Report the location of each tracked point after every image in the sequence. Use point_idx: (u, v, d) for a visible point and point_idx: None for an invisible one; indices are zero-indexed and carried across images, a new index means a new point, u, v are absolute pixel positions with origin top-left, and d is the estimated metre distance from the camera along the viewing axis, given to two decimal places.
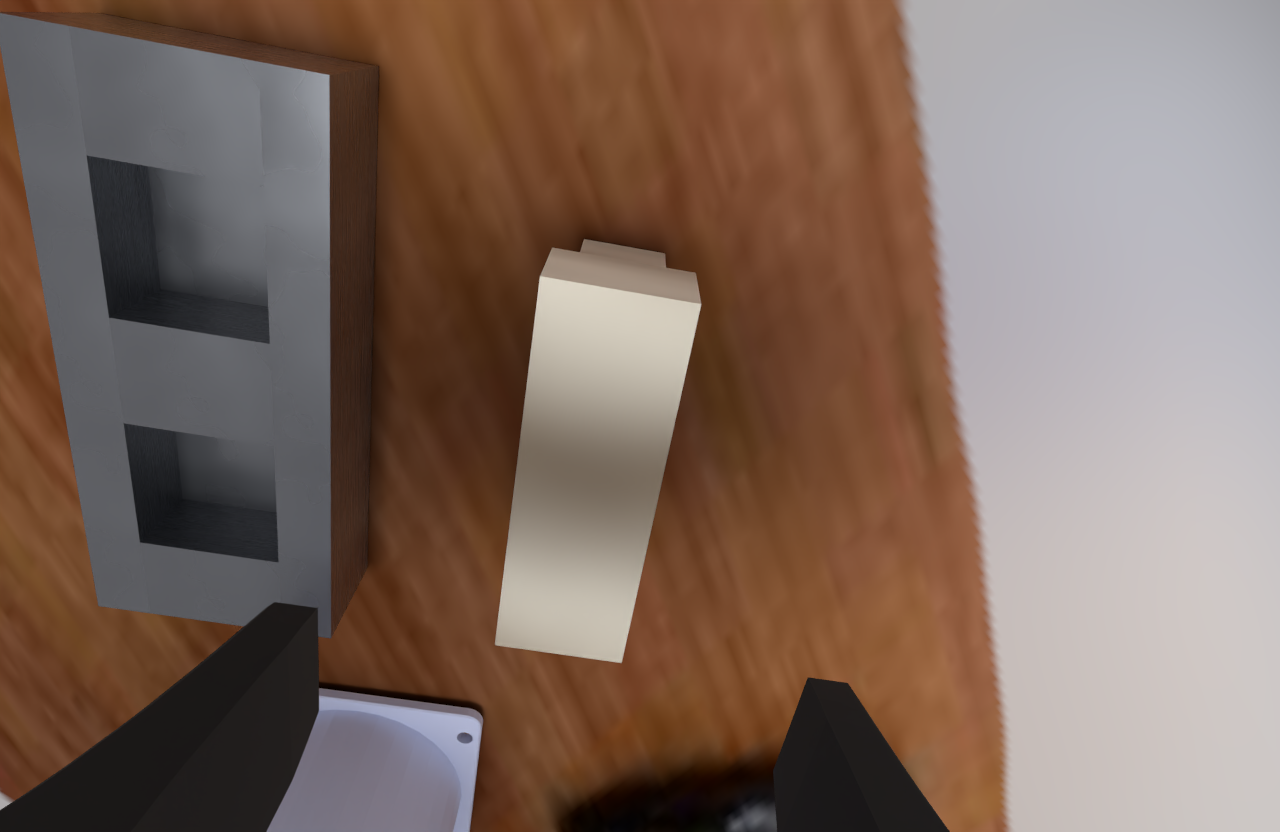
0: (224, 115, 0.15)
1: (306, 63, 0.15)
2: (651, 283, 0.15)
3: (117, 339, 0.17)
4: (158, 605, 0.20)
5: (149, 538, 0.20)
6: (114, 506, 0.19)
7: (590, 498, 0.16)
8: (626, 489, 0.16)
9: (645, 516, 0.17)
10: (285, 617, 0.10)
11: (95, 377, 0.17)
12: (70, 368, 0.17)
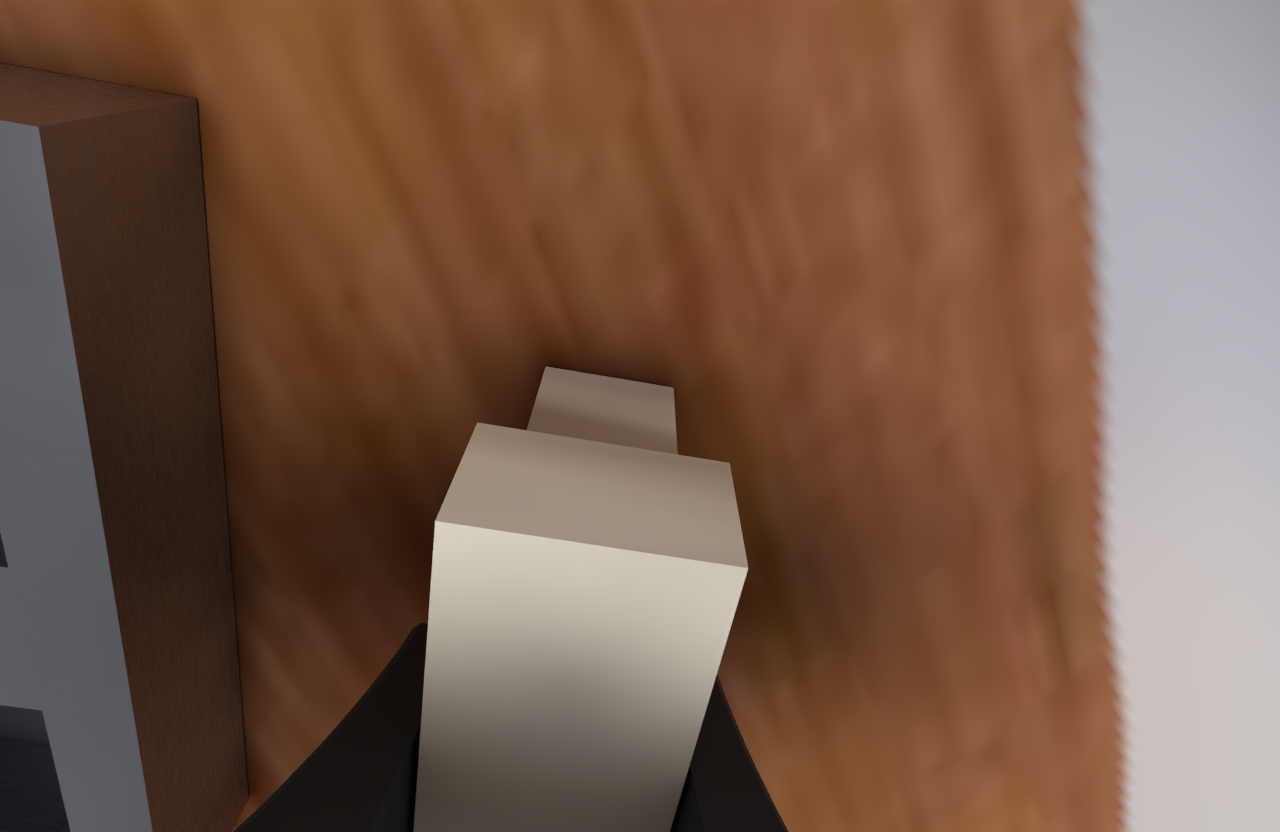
0: None
1: (26, 100, 0.09)
2: (652, 511, 0.08)
3: None
4: None
5: None
6: None
7: None
8: None
9: None
10: None
11: None
12: None
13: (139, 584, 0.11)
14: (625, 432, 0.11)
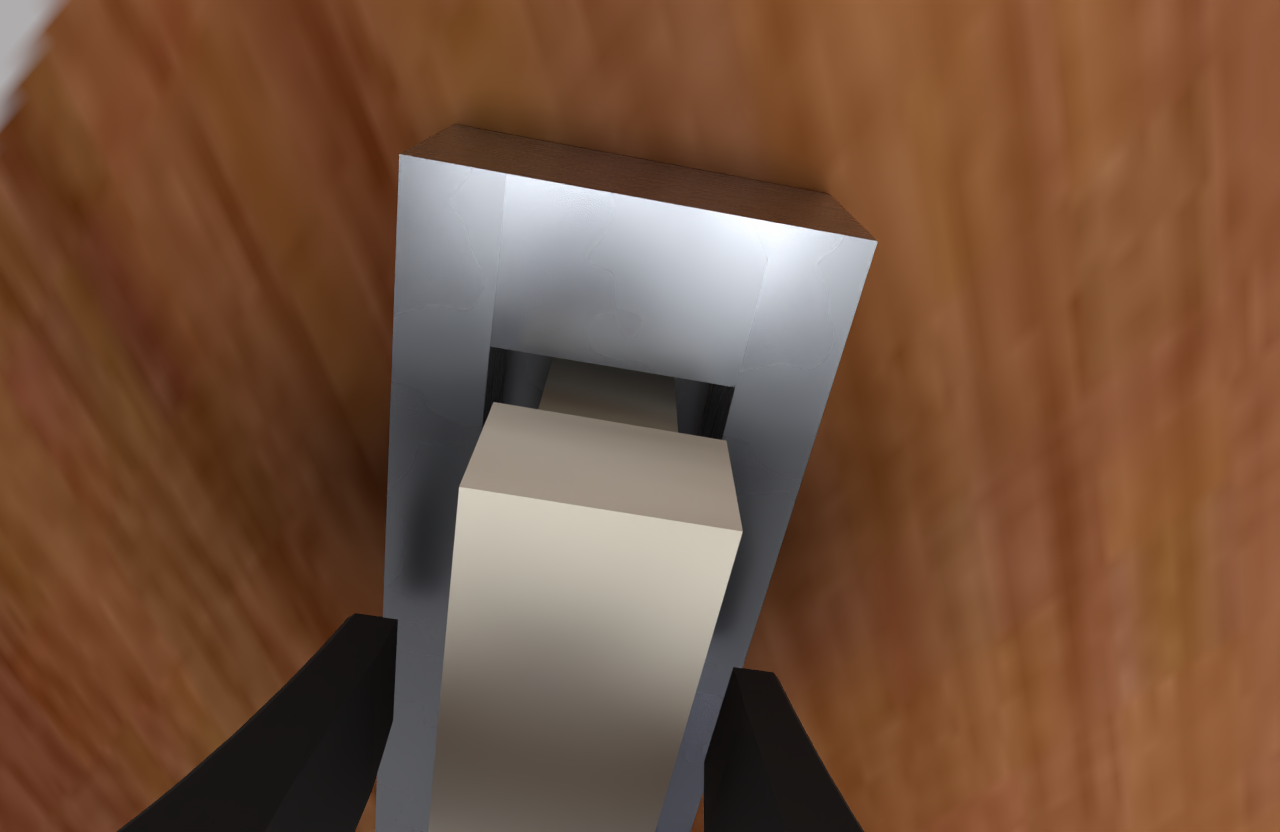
0: (706, 294, 0.10)
1: (799, 211, 0.11)
2: (655, 481, 0.09)
3: None
4: None
5: None
6: (422, 763, 0.14)
7: (555, 800, 0.10)
8: (612, 787, 0.10)
9: (643, 823, 0.10)
10: (368, 629, 0.11)
11: (433, 618, 0.13)
12: (402, 607, 0.13)
13: None
14: (629, 414, 0.11)
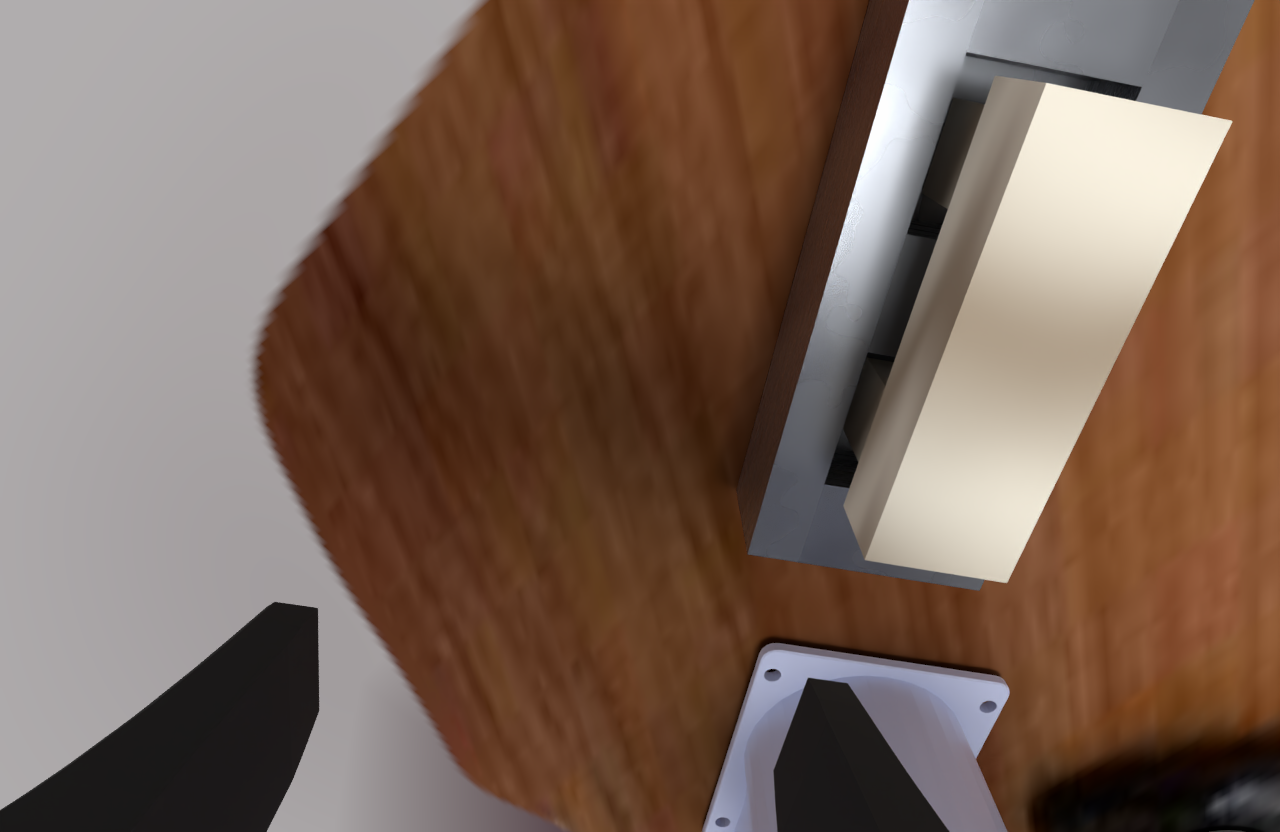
0: (1138, 6, 0.14)
1: None
2: None
3: (904, 258, 0.16)
4: (811, 553, 0.19)
5: (827, 480, 0.19)
6: (815, 444, 0.18)
7: (1027, 376, 0.14)
8: (1072, 363, 0.14)
9: (1087, 398, 0.14)
10: (284, 618, 0.10)
11: (861, 301, 0.16)
12: (839, 290, 0.16)
13: None
14: None
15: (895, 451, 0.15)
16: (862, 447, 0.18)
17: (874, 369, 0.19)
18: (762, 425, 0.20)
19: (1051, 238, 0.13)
